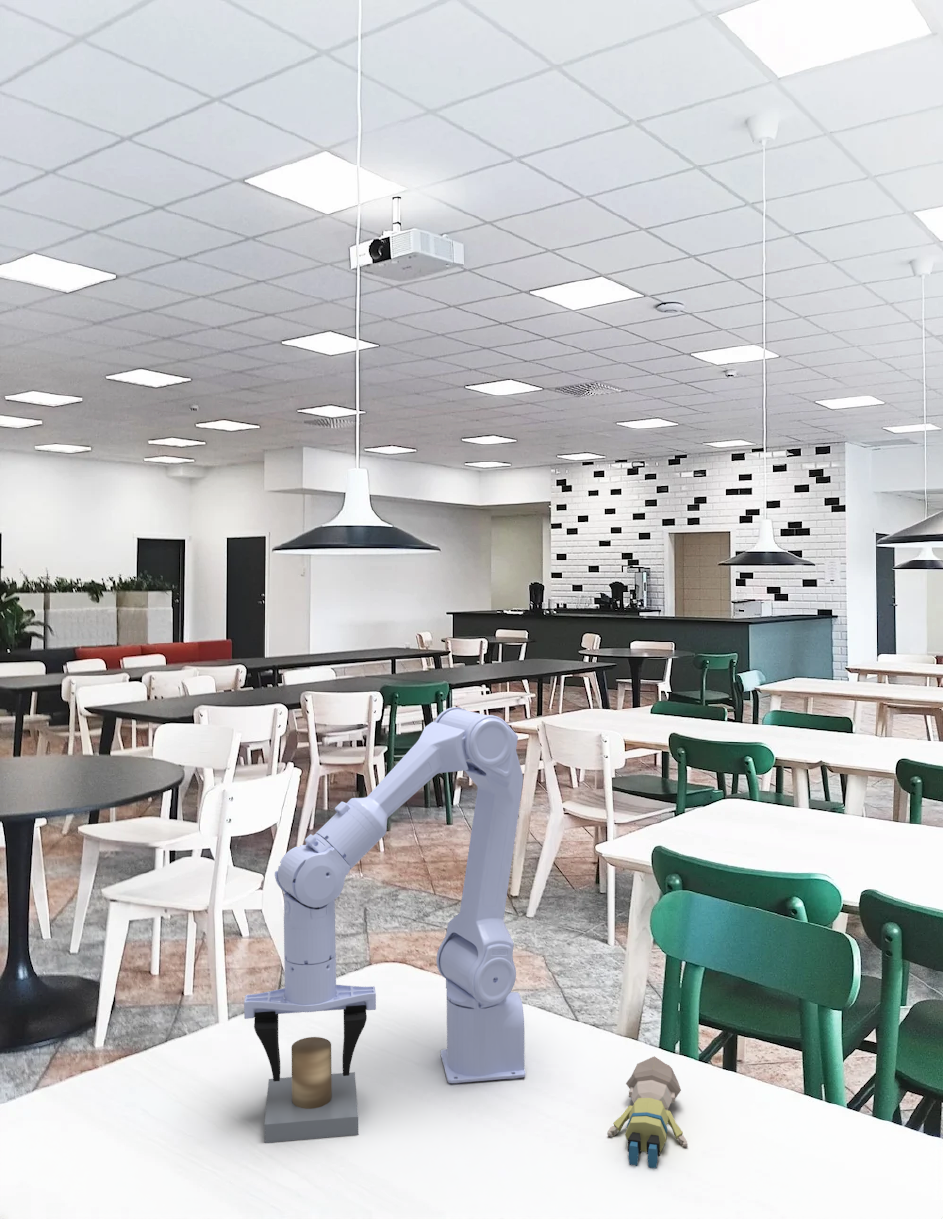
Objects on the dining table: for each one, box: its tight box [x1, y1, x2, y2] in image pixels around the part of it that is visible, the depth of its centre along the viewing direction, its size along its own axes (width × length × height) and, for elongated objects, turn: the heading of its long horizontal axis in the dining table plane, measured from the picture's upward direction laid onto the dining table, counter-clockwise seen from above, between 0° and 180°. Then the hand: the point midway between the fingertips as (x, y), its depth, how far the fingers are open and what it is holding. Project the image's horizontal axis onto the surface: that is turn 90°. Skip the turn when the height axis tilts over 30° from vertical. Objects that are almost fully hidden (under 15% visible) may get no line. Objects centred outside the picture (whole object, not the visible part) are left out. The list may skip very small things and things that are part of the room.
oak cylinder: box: [291, 1036, 332, 1109], centre depth 115 cm, size 4×4×6 cm
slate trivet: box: [263, 1071, 359, 1144], centre depth 115 cm, size 10×10×2 cm
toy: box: [606, 1056, 689, 1169], centre depth 112 cm, size 8×5×15 cm
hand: (311, 1074), depth 115 cm, fingers open, 7 cm apart
